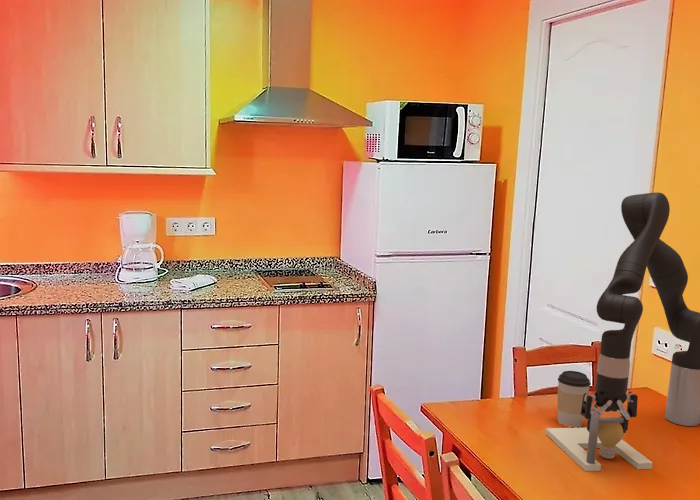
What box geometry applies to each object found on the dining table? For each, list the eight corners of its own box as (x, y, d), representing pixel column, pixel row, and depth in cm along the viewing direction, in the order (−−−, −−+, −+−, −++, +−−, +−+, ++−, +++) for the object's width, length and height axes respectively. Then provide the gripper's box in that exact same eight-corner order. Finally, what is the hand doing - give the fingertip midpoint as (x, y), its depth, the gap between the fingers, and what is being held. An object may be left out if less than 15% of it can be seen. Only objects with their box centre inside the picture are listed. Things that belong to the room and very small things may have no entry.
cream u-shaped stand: (605, 432, 191) (610, 386, 189) (652, 468, 170) (658, 417, 168) (545, 433, 188) (549, 386, 186) (585, 471, 166) (591, 418, 164)
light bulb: (607, 464, 171) (612, 426, 169) (588, 453, 176) (592, 417, 175) (625, 460, 174) (630, 423, 172) (606, 450, 179) (610, 413, 178)
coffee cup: (582, 418, 201) (587, 369, 198) (589, 430, 192) (595, 379, 189) (550, 415, 201) (555, 367, 199) (557, 427, 193) (562, 377, 190)
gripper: (630, 366, 177) (623, 426, 179) (579, 367, 174) (573, 427, 177) (647, 376, 169) (640, 438, 172) (594, 377, 167) (588, 440, 169)
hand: (606, 432), depth 174 cm, fingers open, 8 cm apart
